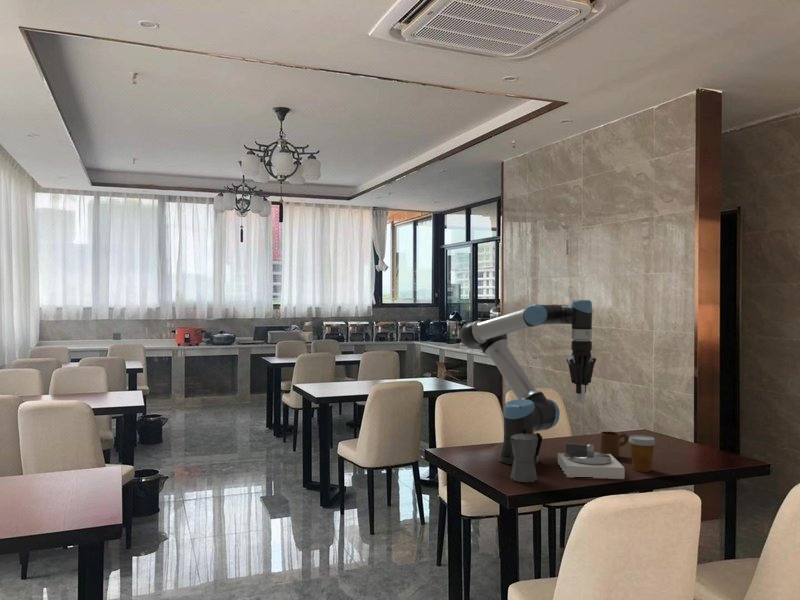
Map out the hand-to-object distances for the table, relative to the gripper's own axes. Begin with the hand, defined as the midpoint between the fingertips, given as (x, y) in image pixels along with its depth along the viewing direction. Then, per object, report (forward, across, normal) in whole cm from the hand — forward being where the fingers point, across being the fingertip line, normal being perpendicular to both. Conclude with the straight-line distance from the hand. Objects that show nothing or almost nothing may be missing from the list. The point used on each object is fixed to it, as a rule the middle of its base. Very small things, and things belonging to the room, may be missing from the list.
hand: (581, 401), depth 245 cm
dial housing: (+24, -2, -7) cm, 25 cm away
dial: (+20, -2, -7) cm, 22 cm away
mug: (+25, +23, +6) cm, 34 cm away
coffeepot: (+25, -30, -7) cm, 40 cm away
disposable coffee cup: (+25, +18, -14) cm, 33 cm away
